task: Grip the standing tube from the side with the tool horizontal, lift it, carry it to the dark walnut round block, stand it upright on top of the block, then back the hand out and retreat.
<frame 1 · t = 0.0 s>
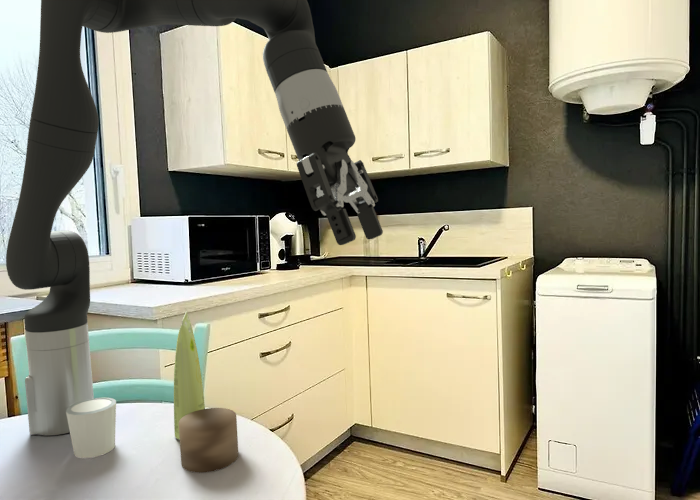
hand: (362, 239, 62), 31 cm above the table, tool tilted 20°, fingers open, 8 cm apart
walnut block: (210, 458, 74), on the table
tube: (190, 436, 82), on the table
white cup: (95, 450, 78), on the table
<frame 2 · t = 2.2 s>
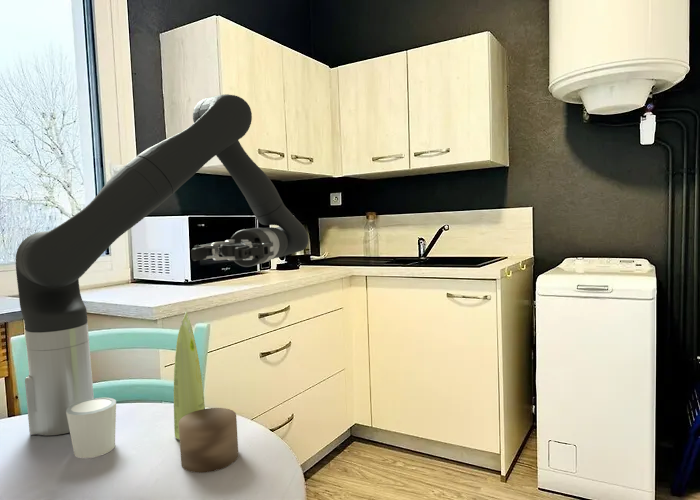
hand: (214, 254, 90), 28 cm above the table, tool horizontal, fingers open, 8 cm apart
nothing on the table moved.
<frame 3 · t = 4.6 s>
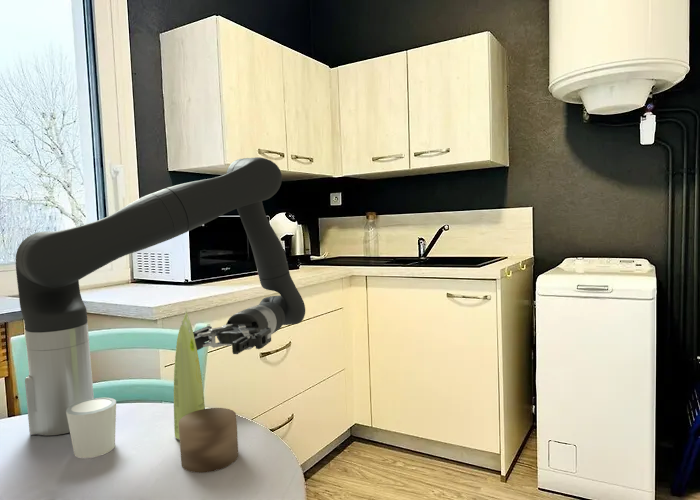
hand: (211, 347, 89), 12 cm above the table, tool horizontal, fingers open, 8 cm apart
nothing on the table moved.
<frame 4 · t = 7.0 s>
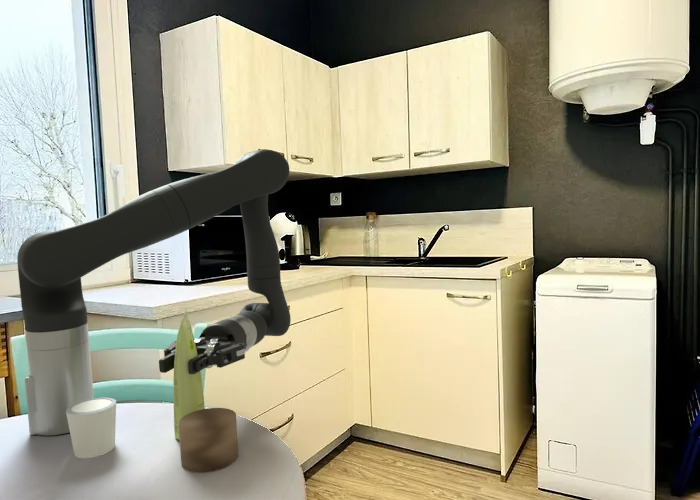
hand: (176, 367, 78), 12 cm above the table, tool horizontal, fingers closed on tube, 4 cm apart
tube: (190, 436, 82), on the table, touching gripper
everything else where it was.
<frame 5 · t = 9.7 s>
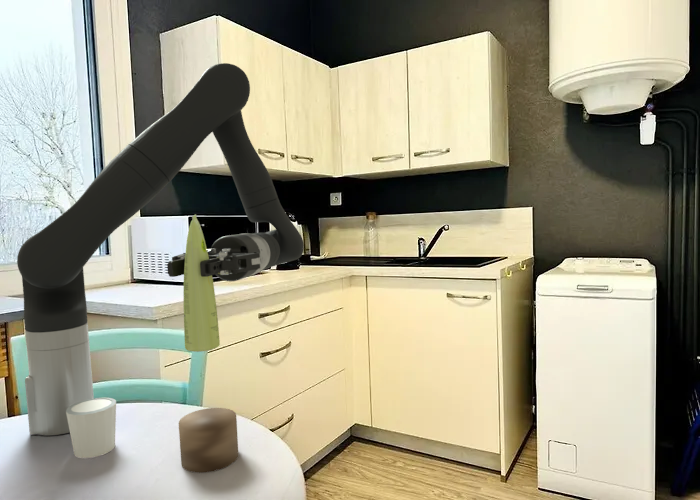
hand: (186, 269, 71), 28 cm above the table, tool horizontal, fingers closed on tube, 4 cm apart
tube: (202, 349, 75), point 15 cm above the table, touching gripper
everything else where it was.
when the fingers open (19 cm above the table, at t = 12.5 s): tube stays where it is, resting on walnut block.
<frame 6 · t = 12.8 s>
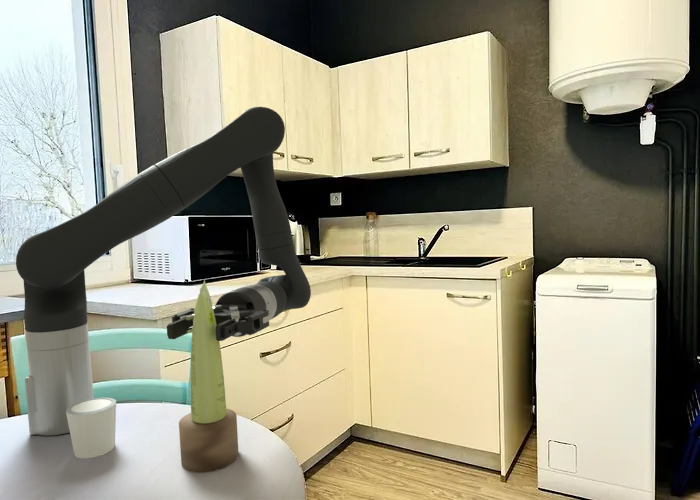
hand: (193, 332, 70), 19 cm above the table, tool horizontal, fingers open, 7 cm apart
walnut block: (210, 458, 74), on the table, touching tube
tube: (209, 419, 74), point 6 cm above the table, touching walnut block
everything else where it was.
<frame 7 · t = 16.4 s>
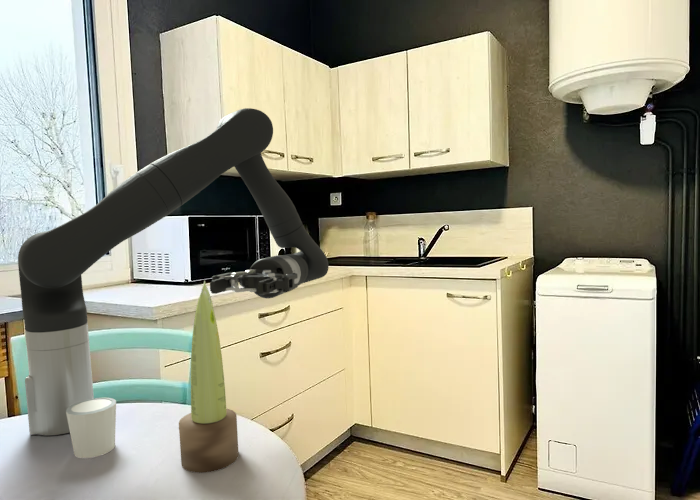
hand: (236, 287, 83), 23 cm above the table, tool horizontal, fingers open, 8 cm apart
nothing on the table moved.
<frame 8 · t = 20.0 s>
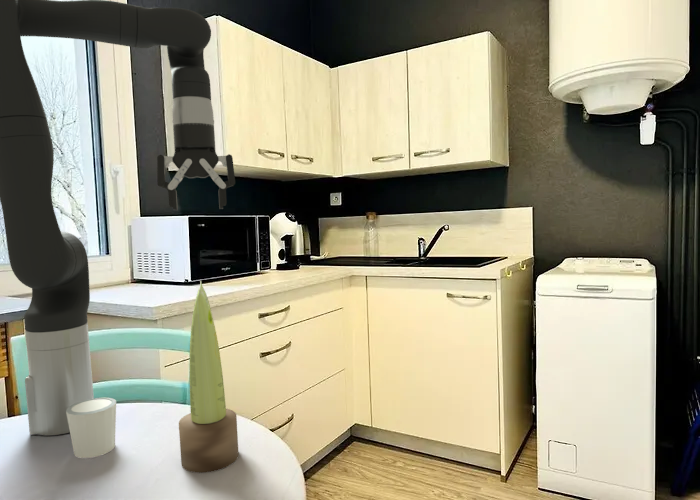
hand: (198, 209, 99), 36 cm above the table, tool pointing down, fingers open, 8 cm apart
nothing on the table moved.
at the end: tube 0.1 cm off-centre on the walnut block, point 5.8 cm above the walnut block's base; tube tilted 1°; the gripper is holding nothing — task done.
